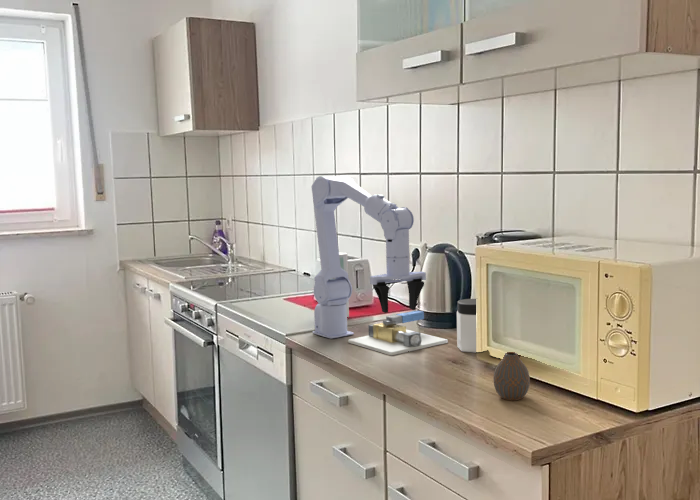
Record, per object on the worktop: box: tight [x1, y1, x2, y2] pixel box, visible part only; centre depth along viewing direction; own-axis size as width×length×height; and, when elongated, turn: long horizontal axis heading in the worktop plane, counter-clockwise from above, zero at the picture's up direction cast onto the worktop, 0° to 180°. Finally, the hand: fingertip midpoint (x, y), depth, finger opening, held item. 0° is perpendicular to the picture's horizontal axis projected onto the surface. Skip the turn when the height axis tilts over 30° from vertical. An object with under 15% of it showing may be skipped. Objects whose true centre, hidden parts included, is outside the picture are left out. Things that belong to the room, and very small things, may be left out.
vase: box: [493, 352, 531, 401], centre depth 135 cm, size 7×7×9 cm
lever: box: [382, 309, 425, 326], centre depth 185 cm, size 13×3×2 cm, turn 126°
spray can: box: [329, 252, 350, 318], centre depth 216 cm, size 6×6×20 cm
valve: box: [367, 322, 422, 347], centre depth 181 cm, size 18×5×4 cm, turn 36°
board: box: [347, 328, 449, 356], centre depth 182 cm, size 18×19×1 cm
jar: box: [456, 298, 477, 354], centre depth 173 cm, size 9×8×12 cm
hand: (398, 310), depth 173 cm, fingers open, 7 cm apart
